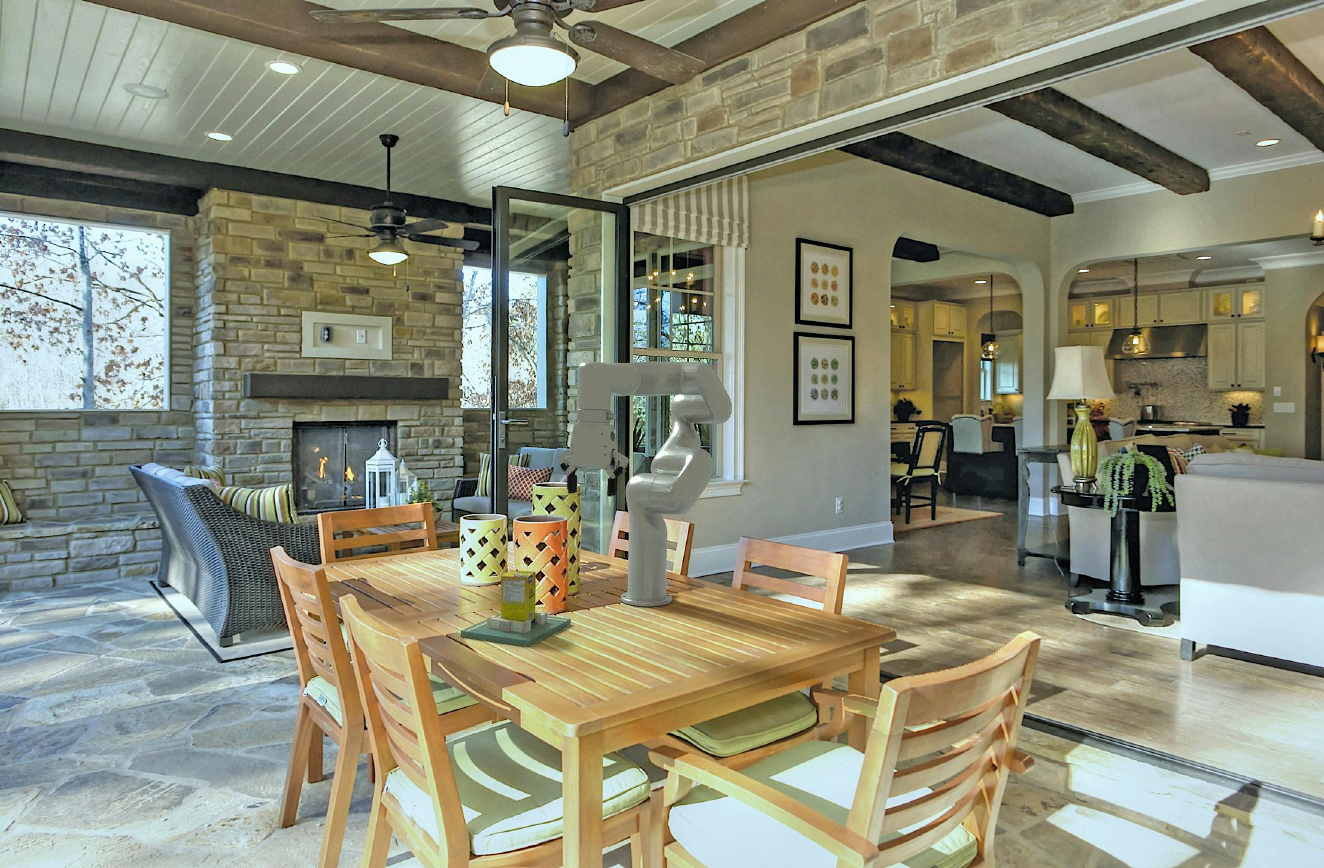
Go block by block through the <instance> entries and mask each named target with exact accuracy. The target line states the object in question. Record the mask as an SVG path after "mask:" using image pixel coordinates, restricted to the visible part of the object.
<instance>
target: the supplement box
mask: <svg viewBox="0 0 1324 868" xmlns="http://www.w3.org/2000/svg"><path fill="white" fill-rule="evenodd" d="M536 575H537V572H536V571H532V570H531V571H530V570H508V571H507V572H505V573H503V574H502V575H501V576H500V614H501V619H507V620H514V621H521V622H525V621H527V620H530V621H531V624H532V623H533V622H534V621H535V611H536V599H537V598H536V595H537V594H536V592H537V591H536V589H537V588H536V586H537V584H536V583H537V581H536V580H537V576H536Z"/></svg>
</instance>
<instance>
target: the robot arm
mask: <svg viewBox="0 0 1324 868" xmlns="http://www.w3.org/2000/svg"><path fill="white" fill-rule="evenodd" d="M576 379H577V381H576V383H577V385H576V423H573V427H572V430H571V431H572V432H571V435H570V444H569V448H568V449H567V450H565V451H564V452H561V453H559V454H557V456H556V457H557V458H556V459H557V461H558V463H559V465H560V468H561V470H562V471H563V472H564V475H565V476H566V489H567V494H569V495H571V494H575V493H577V492H578V475H577V474H576V473H577V472H578V470H580V469H589V470H590V469H591V470H604V471H605V472H606V473H607V474H608V477H609V478H607V485H606V486H607V489H606V490H607V492H606V493H607V494H606V496H607V497H609V498H610V497H614V496H616V494H617V493H618V482H619V481H618V479H619V478H620V477H621V475H622V474H623V473H624V472H625V471H626V468H627V466H628V464H629V462H630V459H629V458H628V457H627V456H625V455H624V454H622V453H620V452H618V443H617V436H616V435H617V434H616V429H615V425H614V424H612V420H616V418H617V415H616V413H615V412H614V413H613V412H612V410H611V407H612V406H611V405H612V397H626V396H633V397H634V396H635V397H656V396H657V397H660V396H674V397H673V398H672V401H671V403H670V418H671V420H670V421H671V433H670V435H669V437H668V438H667V439H666V441H665V442H664V444H663V445H662V446H661V447H660V449H659V450H658V452H657V453H656V454H655V456H654V457H653V459H652V461H651V464H650V472H651V473H649V472H648V473H647V472H642V473H638V474H634V475H633V476H632V477H631V478H630V479H629V480H628V482H627V484H626V486H625V498H626V506H627V510H628V512H627V513H628V556H627V557H628V562H627V563H628V564H627V591H626V592H624V593H622V594H621V596H620V600H621V602H623V603H625V604H627V605H630V606H636V607H659V606H666V605H669V604H670V603H671V602H672V601H673V596H672V595H671V594H669V593H667V586H668V585H669V581H668V579H667V562H668V559H667V558H668V526H667V523H666V521H665V518H664V516H663V515H671V516H683V515H686V514H688V513H689V512H690V511H691V510H692V509H693V507H694V506H695V505H696V503H697V502H698V500H699V498H700V497H701V495H702V494H703V492H704V491H705V489H706V487H707V486H708V484H709V483H710V481H711V479H712V477H713V470H714V461H713V457H712V456H711V453H709V452H708V451H707V450H705V449H703V448H701V444H702V442H701V439H700V436H699V434H698V432H697V430H696V428H695V424H701V425H702V424H703V425H704V424H705V425H707V424H708V425H722V424H724V423H726V422H727V421H729V420H730V417H731V415H732V413H733V405H732V400H731V397H730V395H729V393H728V391H727V389H726V388H725V386H724V384H723V383H722V381H721V379H720V378H719V376H718V375H717V373H716V371H715V370H714V369H713V368H712V366H711V365H709V364H708V363H707V362H704V361H636V362H625V363H624V362H622V363H621V362H604V361H603V362H600V361H585V362H584V361H583V362H581V363H580V364H578V367H577V376H576ZM567 458H569V463H568V462H567ZM618 461H619V465H618ZM617 465H618V467H617ZM616 467H617V468H616ZM662 514H663V515H662Z"/></svg>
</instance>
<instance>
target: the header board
mask: <svg viewBox="0 0 1324 868" xmlns="http://www.w3.org/2000/svg"><path fill="white" fill-rule="evenodd" d="M571 623H572V621H571V618H565V617H559V616H552V615H551V616H550V615H548V612H543V611H536V610H535V621H534V622H533V623H532V624H531V621H530V620H527V621H525V622H521V621H514V620H507V619H501V613H499V614H497V615H495V614H493V615H491V616H488V617H487V619H485V620H483V621H480V622H478V623H476V624H474V625H471V626H469V627H466V628H464V629H462V630H460V637H461V638H467V637H468V638H469V639H472V640H473V639H474V640H475V639H476V640H480V641H489V642H494V643H498V644H499V643H501V644H507V645H513V646H520V647H526V648H528V647H532V646H533V645H535V644H537V643H538V642H540V641H542V640H544V639H546V638H548V637H550V636H553V635H554V634H555V633H557V632H559V631H561V630H563V629H565V628H567V627H568V626H570V625H571ZM468 638H467V639H468Z"/></svg>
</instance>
